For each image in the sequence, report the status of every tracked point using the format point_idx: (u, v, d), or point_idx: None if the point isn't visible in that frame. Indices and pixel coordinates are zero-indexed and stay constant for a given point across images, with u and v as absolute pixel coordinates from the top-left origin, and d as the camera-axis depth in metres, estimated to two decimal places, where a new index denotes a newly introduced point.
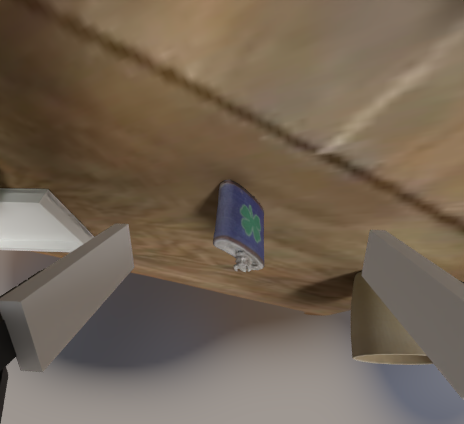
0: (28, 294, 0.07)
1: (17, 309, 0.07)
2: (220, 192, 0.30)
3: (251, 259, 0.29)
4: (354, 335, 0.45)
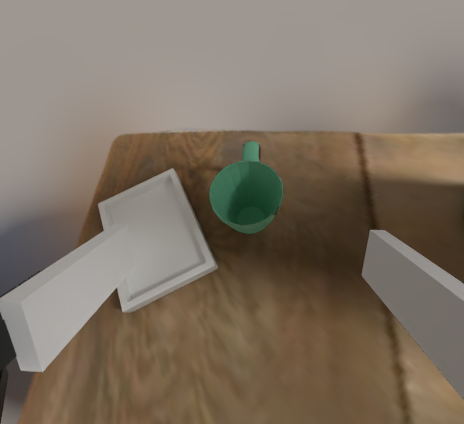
0: (28, 294, 0.07)
1: (17, 309, 0.07)
2: None
3: None
4: None
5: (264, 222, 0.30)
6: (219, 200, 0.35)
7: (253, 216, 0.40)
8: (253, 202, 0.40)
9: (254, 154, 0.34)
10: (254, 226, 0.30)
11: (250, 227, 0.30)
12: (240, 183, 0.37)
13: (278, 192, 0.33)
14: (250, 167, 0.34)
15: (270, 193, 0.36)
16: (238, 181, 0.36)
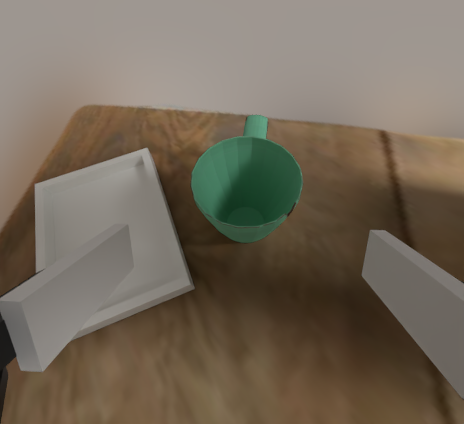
0: (28, 294, 0.07)
1: (17, 309, 0.07)
2: None
3: None
4: None
5: (272, 225, 0.19)
6: (205, 190, 0.25)
7: (249, 220, 0.30)
8: (250, 201, 0.30)
9: (260, 130, 0.24)
10: (256, 230, 0.19)
11: (250, 231, 0.19)
12: (237, 171, 0.27)
13: (291, 186, 0.23)
14: (253, 147, 0.24)
15: (277, 189, 0.26)
16: (234, 168, 0.26)
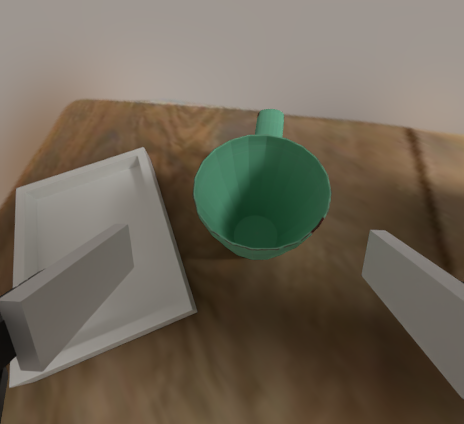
0: (28, 294, 0.07)
1: (17, 309, 0.07)
2: None
3: None
4: None
5: (294, 246, 0.15)
6: (210, 199, 0.21)
7: (259, 231, 0.26)
8: (261, 209, 0.26)
9: (276, 127, 0.20)
10: (275, 252, 0.15)
11: (266, 253, 0.15)
12: (247, 176, 0.23)
13: (314, 194, 0.19)
14: (267, 147, 0.20)
15: (294, 197, 0.22)
16: (244, 172, 0.22)
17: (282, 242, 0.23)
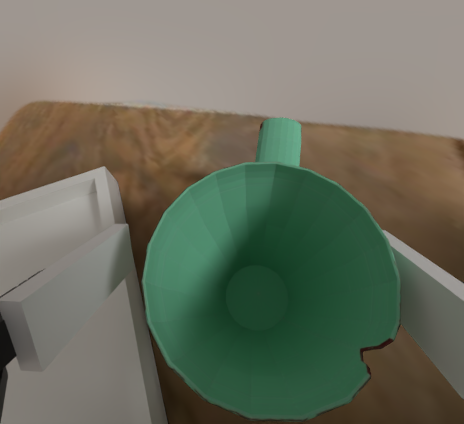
0: (28, 294, 0.07)
1: (17, 309, 0.07)
2: None
3: None
4: None
5: None
6: (185, 261, 0.13)
7: (262, 290, 0.18)
8: (265, 258, 0.18)
9: (290, 148, 0.13)
10: None
11: None
12: (244, 218, 0.15)
13: (355, 263, 0.11)
14: (277, 181, 0.12)
15: (316, 253, 0.14)
16: (239, 214, 0.14)
17: (297, 316, 0.16)
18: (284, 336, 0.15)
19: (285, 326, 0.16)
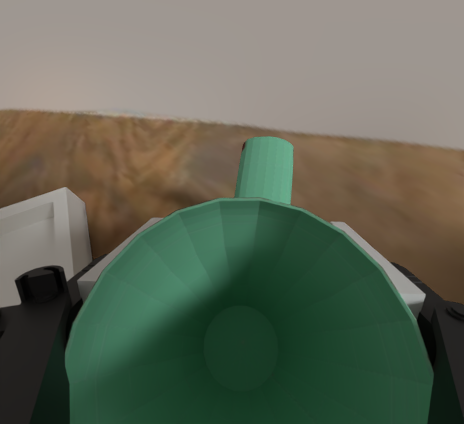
0: None
1: None
2: None
3: None
4: None
5: None
6: (144, 321, 0.10)
7: (247, 337, 0.15)
8: (251, 299, 0.15)
9: (279, 176, 0.10)
10: None
11: None
12: (222, 258, 0.12)
13: (364, 333, 0.09)
14: (262, 219, 0.10)
15: (312, 304, 0.11)
16: (216, 254, 0.12)
17: (288, 377, 0.13)
18: (272, 407, 0.12)
19: (274, 389, 0.13)
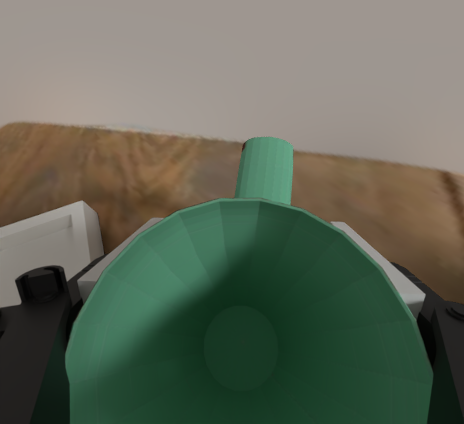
0: None
1: None
2: None
3: None
4: None
5: None
6: (144, 321, 0.10)
7: (247, 337, 0.15)
8: (251, 299, 0.15)
9: (279, 176, 0.10)
10: None
11: None
12: (223, 258, 0.12)
13: (364, 333, 0.09)
14: (262, 219, 0.10)
15: (313, 304, 0.11)
16: (216, 254, 0.12)
17: (288, 377, 0.13)
18: (273, 407, 0.12)
19: (274, 388, 0.13)
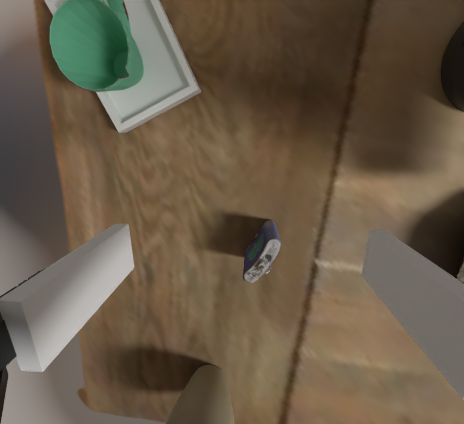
0: (28, 294, 0.07)
1: (17, 309, 0.07)
2: (272, 223, 0.43)
3: None
4: (184, 411, 0.44)
5: (115, 86, 0.30)
6: (75, 49, 0.32)
7: None
8: (126, 46, 0.36)
9: None
10: (106, 90, 0.30)
11: (103, 91, 0.31)
12: (97, 23, 0.31)
13: None
14: (94, 4, 0.28)
15: None
16: (92, 21, 0.31)
17: (140, 74, 0.36)
18: (134, 83, 0.36)
19: (138, 80, 0.37)
